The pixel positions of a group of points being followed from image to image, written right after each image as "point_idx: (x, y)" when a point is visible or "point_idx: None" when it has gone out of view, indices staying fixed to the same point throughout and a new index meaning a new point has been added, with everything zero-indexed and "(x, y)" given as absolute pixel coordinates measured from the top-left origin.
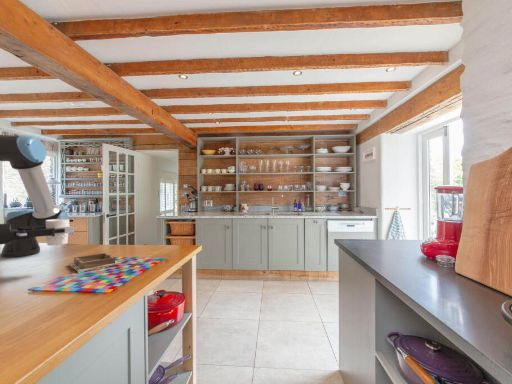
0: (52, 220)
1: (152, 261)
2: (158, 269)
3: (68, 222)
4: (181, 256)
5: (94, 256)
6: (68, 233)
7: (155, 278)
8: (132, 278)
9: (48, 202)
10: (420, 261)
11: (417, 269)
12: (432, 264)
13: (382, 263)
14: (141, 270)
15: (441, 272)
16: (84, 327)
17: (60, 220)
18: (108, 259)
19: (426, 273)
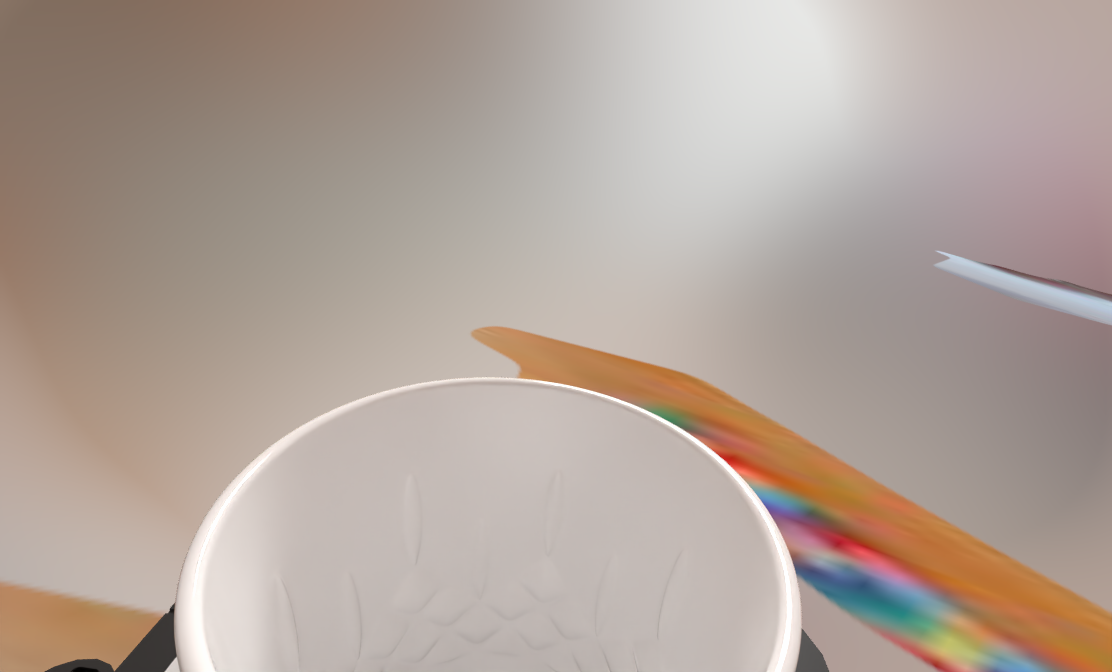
0: (221, 562)
1: None
2: (860, 499)
3: (631, 454)
4: (677, 377)
5: None
6: (554, 605)
7: (1041, 575)
8: (1013, 643)
9: None
10: (1009, 273)
11: (1072, 296)
12: (1038, 278)
13: (1007, 290)
14: (842, 546)
15: (1102, 296)
16: None
17: (329, 452)
18: None
19: (1106, 304)
